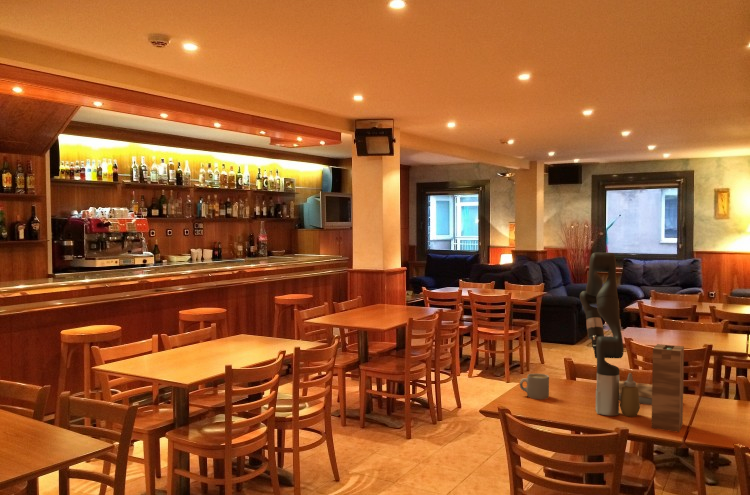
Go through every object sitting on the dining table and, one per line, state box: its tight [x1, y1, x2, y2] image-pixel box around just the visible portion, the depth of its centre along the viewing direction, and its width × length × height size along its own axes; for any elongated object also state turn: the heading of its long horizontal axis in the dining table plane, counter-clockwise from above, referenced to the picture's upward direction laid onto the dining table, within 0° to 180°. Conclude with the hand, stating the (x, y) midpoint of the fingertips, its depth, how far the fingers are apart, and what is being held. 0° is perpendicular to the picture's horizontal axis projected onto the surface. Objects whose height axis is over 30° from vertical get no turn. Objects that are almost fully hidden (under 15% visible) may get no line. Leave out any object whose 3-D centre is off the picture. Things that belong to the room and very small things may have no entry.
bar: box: [619, 380, 652, 398], centre depth 294 cm, size 24×5×5 cm, turn 57°
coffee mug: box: [519, 372, 550, 400], centre depth 301 cm, size 13×10×10 cm
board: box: [619, 394, 652, 406], centre depth 293 cm, size 26×11×2 cm, turn 58°
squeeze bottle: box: [619, 372, 641, 417], centre depth 271 cm, size 8×8×18 cm
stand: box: [651, 343, 685, 433], centre depth 255 cm, size 12×10×32 cm
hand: (599, 360), depth 304 cm, fingers open, 8 cm apart
